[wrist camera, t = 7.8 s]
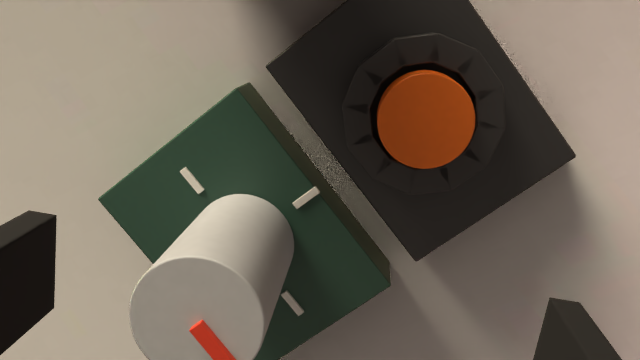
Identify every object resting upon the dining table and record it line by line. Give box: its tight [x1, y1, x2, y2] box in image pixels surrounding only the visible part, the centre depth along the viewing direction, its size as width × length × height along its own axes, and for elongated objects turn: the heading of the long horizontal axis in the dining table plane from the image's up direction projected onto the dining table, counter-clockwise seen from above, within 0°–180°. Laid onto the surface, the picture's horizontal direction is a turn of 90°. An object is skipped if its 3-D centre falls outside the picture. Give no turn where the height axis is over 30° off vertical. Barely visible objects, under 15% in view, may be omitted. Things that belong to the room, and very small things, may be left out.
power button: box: [377, 70, 475, 169], centre depth 25 cm, size 4×4×2 cm
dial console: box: [98, 83, 391, 360], centre depth 30 cm, size 9×12×3 cm
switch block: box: [266, 0, 576, 261], centre depth 28 cm, size 9×12×4 cm
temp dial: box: [129, 194, 294, 360], centre depth 25 cm, size 5×5×8 cm
